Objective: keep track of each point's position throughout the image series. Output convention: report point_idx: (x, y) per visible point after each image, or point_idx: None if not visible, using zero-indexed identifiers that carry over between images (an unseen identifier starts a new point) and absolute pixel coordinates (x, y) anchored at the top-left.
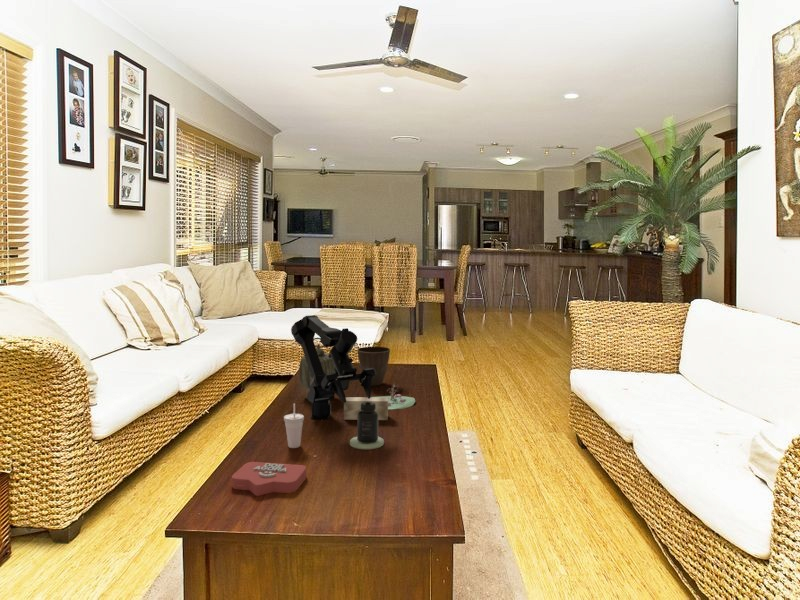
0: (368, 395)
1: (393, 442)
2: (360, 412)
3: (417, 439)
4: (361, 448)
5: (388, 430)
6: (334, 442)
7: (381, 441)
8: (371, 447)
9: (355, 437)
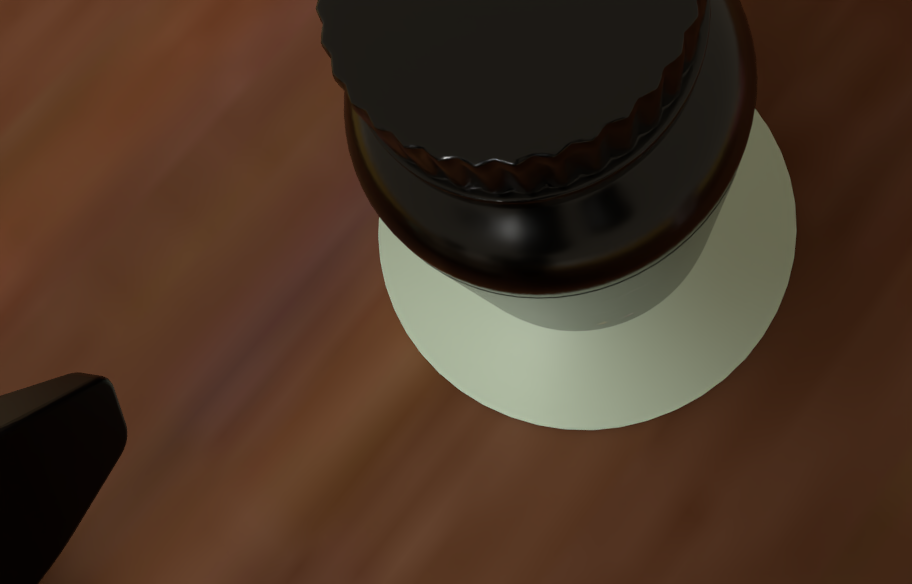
0: (66, 441)
1: None
2: (707, 97)
3: (106, 7)
4: None
5: None
6: (890, 519)
7: None
8: None
9: (614, 409)
